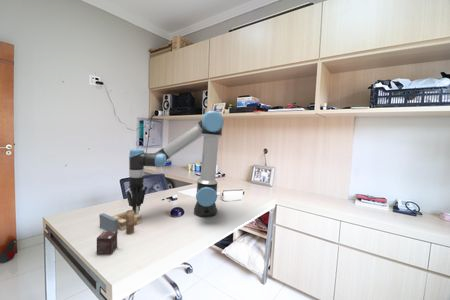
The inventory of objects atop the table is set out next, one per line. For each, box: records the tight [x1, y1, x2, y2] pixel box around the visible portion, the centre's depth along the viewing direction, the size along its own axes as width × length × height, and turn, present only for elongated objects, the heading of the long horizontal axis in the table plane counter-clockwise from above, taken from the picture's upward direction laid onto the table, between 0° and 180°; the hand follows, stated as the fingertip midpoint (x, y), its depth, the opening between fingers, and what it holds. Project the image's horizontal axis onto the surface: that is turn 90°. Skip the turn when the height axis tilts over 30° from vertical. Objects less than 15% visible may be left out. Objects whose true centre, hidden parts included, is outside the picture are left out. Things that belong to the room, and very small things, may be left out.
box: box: [96, 230, 118, 256], centre depth 89 cm, size 6×6×7 cm
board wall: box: [99, 213, 119, 234], centre depth 115 cm, size 15×28×8 cm, turn 148°
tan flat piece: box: [111, 211, 143, 231], centre depth 114 cm, size 12×12×4 cm
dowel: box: [125, 209, 135, 235], centre depth 104 cm, size 4×4×12 cm
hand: (136, 217), depth 119 cm, fingers closed
